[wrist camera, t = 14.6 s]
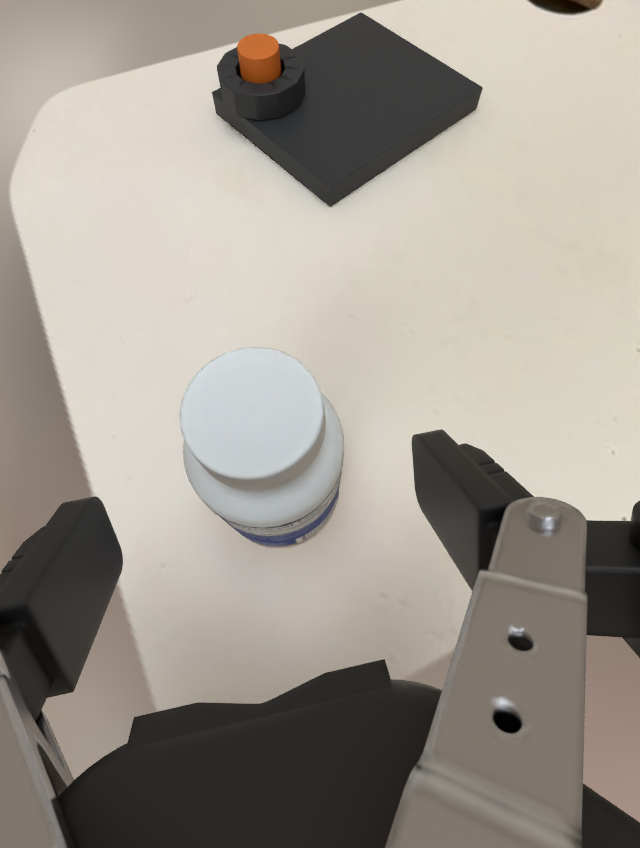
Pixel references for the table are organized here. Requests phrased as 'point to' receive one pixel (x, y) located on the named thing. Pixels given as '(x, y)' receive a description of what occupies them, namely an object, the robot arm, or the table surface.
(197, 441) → the pill bottle
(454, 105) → the scale
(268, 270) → the table surface
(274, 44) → the button
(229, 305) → the table surface
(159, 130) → the table surface
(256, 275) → the table surface
